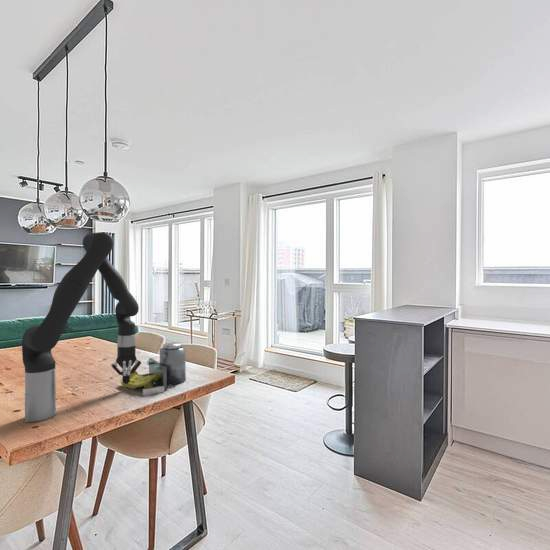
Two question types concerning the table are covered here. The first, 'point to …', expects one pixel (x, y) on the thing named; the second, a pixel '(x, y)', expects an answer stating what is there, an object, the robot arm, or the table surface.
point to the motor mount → (167, 368)
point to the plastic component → (140, 381)
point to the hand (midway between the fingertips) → (126, 383)
